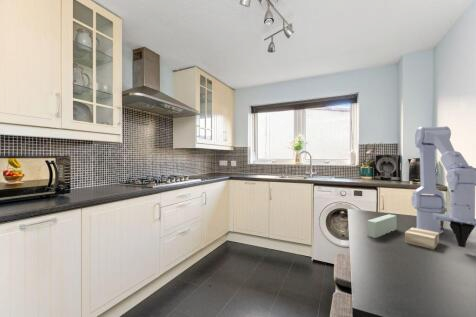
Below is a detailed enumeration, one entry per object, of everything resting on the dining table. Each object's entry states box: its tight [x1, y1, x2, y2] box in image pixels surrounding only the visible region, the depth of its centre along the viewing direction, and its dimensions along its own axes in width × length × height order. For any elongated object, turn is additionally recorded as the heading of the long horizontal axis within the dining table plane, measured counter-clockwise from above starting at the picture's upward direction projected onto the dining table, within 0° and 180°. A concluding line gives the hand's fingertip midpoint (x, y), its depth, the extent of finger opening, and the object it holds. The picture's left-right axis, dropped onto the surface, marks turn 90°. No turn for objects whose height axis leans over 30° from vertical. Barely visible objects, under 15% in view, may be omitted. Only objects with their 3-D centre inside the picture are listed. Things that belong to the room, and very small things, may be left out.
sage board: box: [366, 213, 398, 239], centre depth 91 cm, size 20×3×6 cm, turn 125°
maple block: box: [404, 226, 440, 250], centre depth 81 cm, size 10×8×4 cm
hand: (461, 246), depth 72 cm, fingers closed
